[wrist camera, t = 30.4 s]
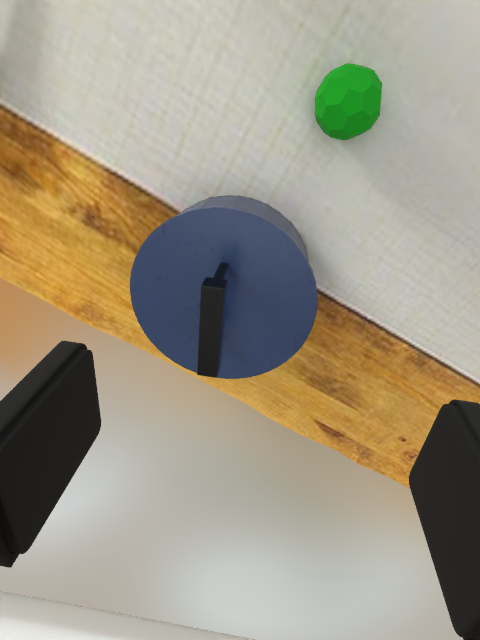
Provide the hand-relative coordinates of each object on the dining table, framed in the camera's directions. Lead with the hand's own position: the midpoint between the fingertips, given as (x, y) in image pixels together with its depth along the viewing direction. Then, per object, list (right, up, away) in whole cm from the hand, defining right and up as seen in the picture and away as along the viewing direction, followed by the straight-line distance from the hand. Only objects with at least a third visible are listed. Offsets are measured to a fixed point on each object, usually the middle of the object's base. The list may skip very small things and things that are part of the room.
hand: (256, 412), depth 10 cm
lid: (-2, +4, +23) cm, 24 cm away
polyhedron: (+8, +20, +20) cm, 30 cm away
